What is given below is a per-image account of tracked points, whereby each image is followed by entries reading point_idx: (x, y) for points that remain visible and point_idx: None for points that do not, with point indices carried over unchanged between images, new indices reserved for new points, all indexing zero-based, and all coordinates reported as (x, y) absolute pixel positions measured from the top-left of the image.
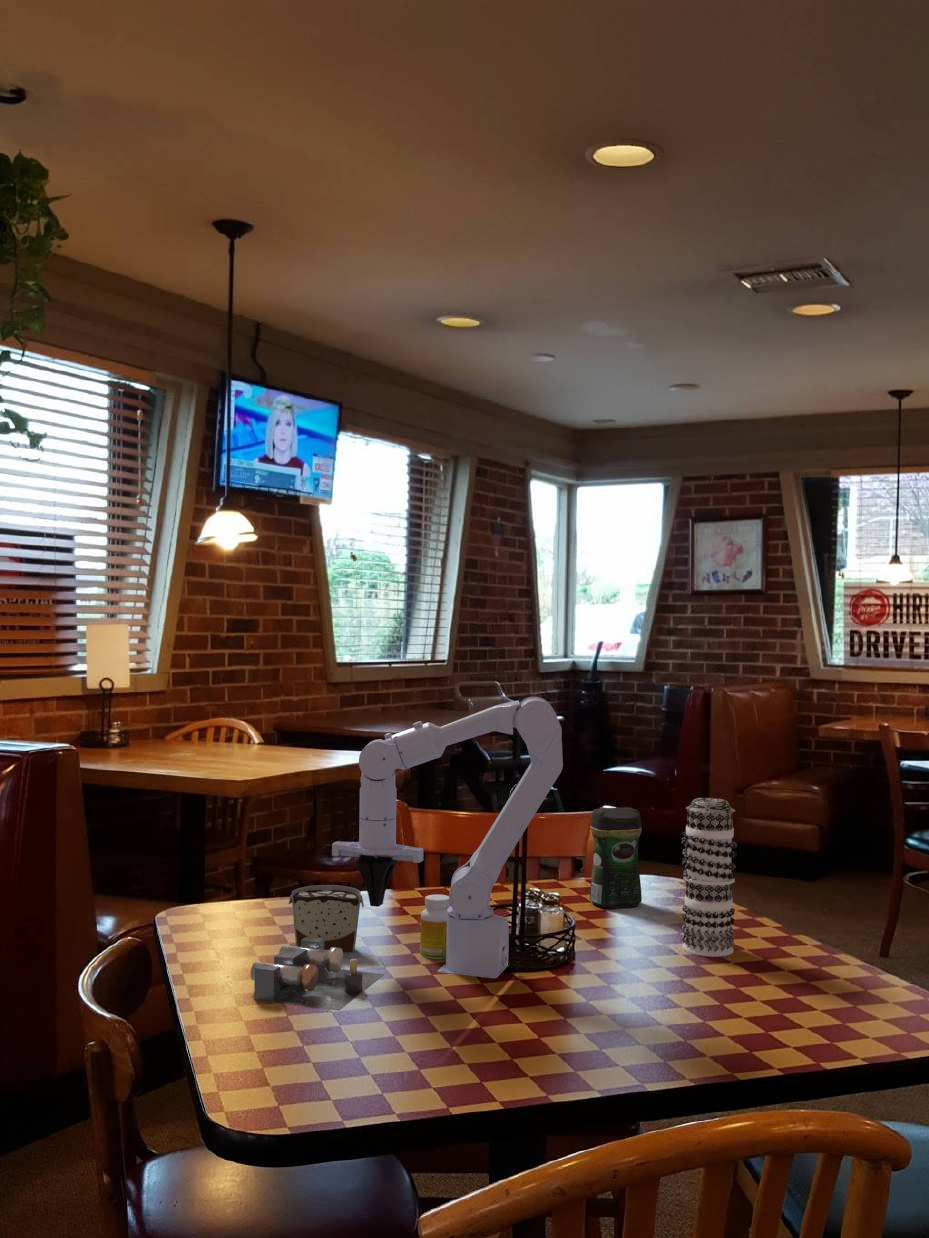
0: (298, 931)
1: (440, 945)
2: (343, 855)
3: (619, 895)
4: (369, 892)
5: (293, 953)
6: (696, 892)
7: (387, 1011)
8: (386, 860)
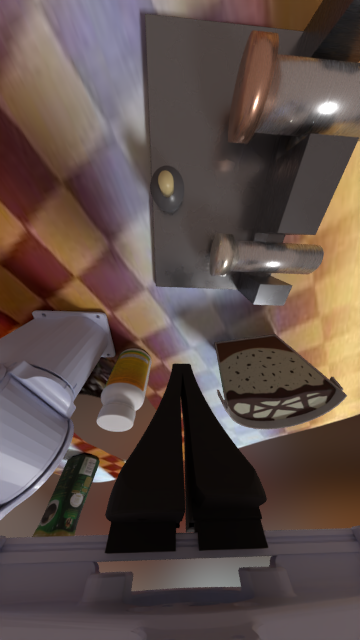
0: (288, 350)
1: (120, 361)
2: (334, 529)
3: (71, 465)
4: (193, 385)
5: (307, 185)
6: None
7: (72, 104)
8: (133, 528)
